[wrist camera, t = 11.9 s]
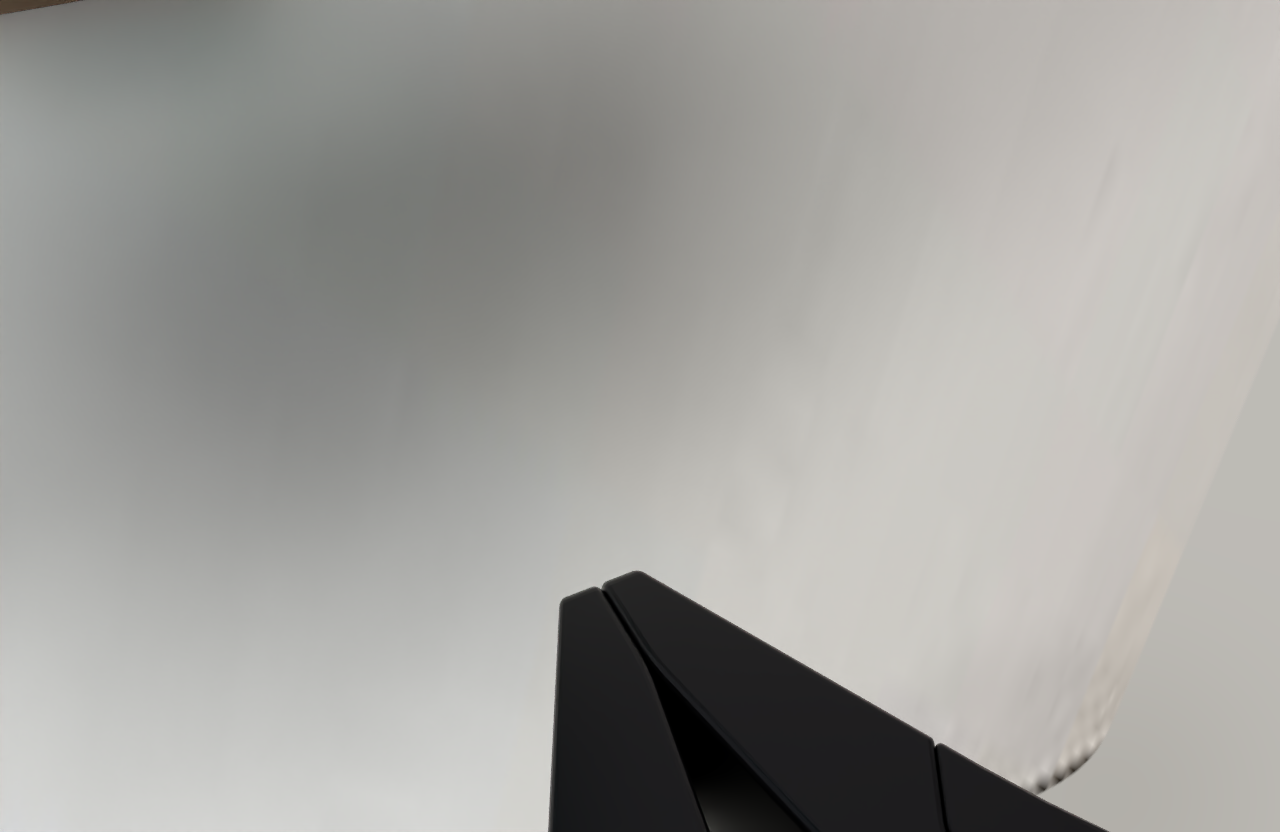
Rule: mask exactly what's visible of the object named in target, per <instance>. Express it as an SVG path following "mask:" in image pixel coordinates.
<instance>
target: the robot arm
mask: <svg viewBox="0 0 1280 832" xmlns="http://www.w3.org/2000/svg"><path fill="white" fill-rule="evenodd" d="M548 832H1109V831H1107V830H1105V829H1103V828H1101V827H1099V826H1097V825H1094V824H1092V823H1090V822H1088V821H1086V820H1084V819H1082V818H1080V817H1078V816H1076V815H1074V814H1072V813H1069V812H1068V811H1065V810H1063V809H1061V808H1059V807H1057V806H1055V805H1053V804H1051V803H1049V802H1047V801H1045V800H1043V799H1041V798H1040V797H1038V796H1036V795H1034V794H1032V793H1030V792H1029V791H1027V790H1025V789H1023V788H1021V787H1019V786H1017V785H1016V784H1014V783H1012V782H1010V781H1008V780H1006V779H1005V778H1003V777H1001V776H999V775H997V774H995V773H993V772H992V771H990V770H988V769H986V768H984V767H982V766H981V765H979V764H977V763H975V762H974V761H972V760H970V759H968V758H967V757H965V756H963V755H961V754H960V753H958V752H956V751H954V750H953V749H951V748H949V747H948V746H946V745H944V744H942V743H939V744H937V745H936V746H935V745H934V741H933V739H932V738H931V737H929V736H928V735H926V734H924V733H923V732H921V731H919V730H917V729H916V728H914V727H912V726H910V725H909V724H907V723H905V722H903V721H902V720H900V719H898V718H896V717H895V716H893V715H891V714H889V713H888V712H886V711H884V710H882V709H881V708H879V707H877V706H875V705H874V704H872V703H870V702H869V701H867V700H865V699H863V698H862V697H860V696H858V695H856V694H855V693H853V692H851V691H849V690H848V689H846V688H844V687H842V686H841V685H839V684H837V683H835V682H834V681H832V680H830V679H828V678H827V677H825V676H823V675H821V674H820V673H818V672H816V671H814V670H813V669H811V668H809V667H808V666H806V665H804V664H802V663H801V662H799V661H797V660H795V659H794V658H792V657H790V656H788V655H787V654H785V653H783V652H781V651H780V650H778V649H776V648H774V647H773V646H771V645H769V644H767V643H766V642H764V641H762V640H760V639H759V638H757V637H755V636H753V635H752V634H750V633H748V632H747V631H745V630H743V629H741V628H740V627H738V626H736V625H734V624H733V623H731V622H729V621H727V620H726V619H724V618H722V617H720V616H719V615H717V614H715V613H713V612H712V611H710V610H708V609H706V608H705V607H703V606H701V605H699V604H698V603H696V602H694V601H692V600H691V599H689V598H687V597H686V596H684V595H682V594H680V593H679V592H677V591H675V590H673V589H672V588H670V587H668V586H666V585H665V584H663V583H661V582H659V581H658V580H656V579H654V578H652V577H651V576H649V575H647V574H645V573H644V572H641V571H632V572H630V573H627V574H625V575H622V576H619V577H617V578H614V579H612V580H609V581H607V582H605V583H604V584H603V586H602V589H600V588H598V587H591V588H588V589H586V590H583V591H581V592H578V593H575V594H573V595H570V596H568V597H565V598H563V599H562V601H561V603H560V606H559V624H558V644H557V665H556V685H555V705H554V725H553V746H552V766H551V786H550V806H549V827H548Z"/></svg>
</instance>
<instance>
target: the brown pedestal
mask: <svg viewBox="0 0 1280 832" xmlns="http://www.w3.org/2000/svg"><path fill="white" fill-rule="evenodd" d="M75 1H81V0H0V14H6V13H12V12H17V11H23V10H29V9H35V8H41V7H46V6H52V5H58V4H64V3H69V2H75Z"/></svg>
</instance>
